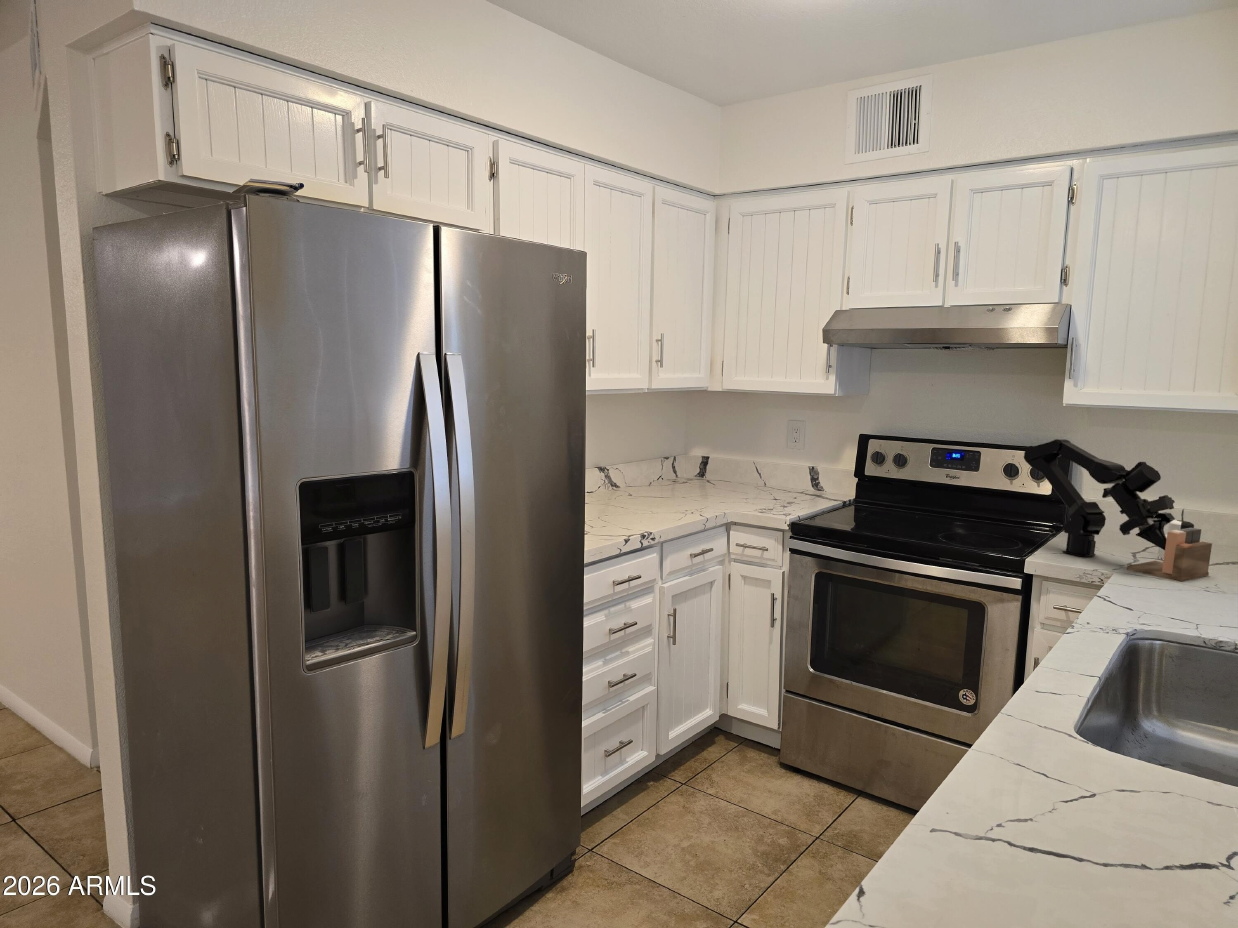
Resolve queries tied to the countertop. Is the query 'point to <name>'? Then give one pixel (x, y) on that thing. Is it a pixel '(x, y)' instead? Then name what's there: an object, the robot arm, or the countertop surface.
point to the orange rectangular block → (1172, 549)
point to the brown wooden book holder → (1182, 559)
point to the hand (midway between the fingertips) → (1167, 549)
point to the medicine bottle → (1175, 526)
